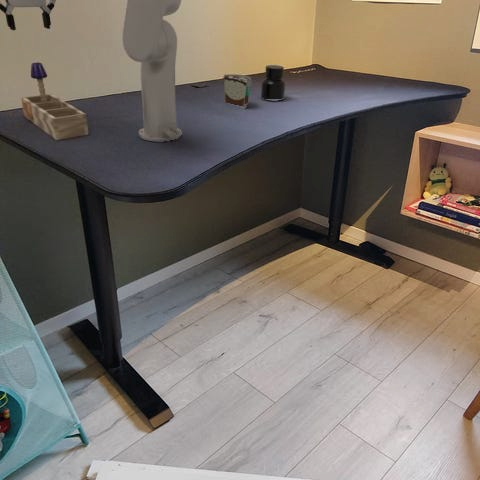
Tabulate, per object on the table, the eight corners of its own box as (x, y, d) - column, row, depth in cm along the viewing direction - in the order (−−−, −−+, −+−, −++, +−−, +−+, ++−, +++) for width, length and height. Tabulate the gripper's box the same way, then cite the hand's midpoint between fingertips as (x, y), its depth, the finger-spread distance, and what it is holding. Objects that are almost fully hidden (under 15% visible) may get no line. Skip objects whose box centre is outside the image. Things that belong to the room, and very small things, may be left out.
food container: (257, 106, 172) (259, 78, 167) (246, 109, 168) (248, 81, 163) (233, 99, 179) (234, 72, 174) (222, 102, 175) (222, 74, 170)
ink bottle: (288, 99, 183) (291, 67, 177) (276, 103, 177) (279, 70, 171) (268, 94, 188) (270, 63, 182) (255, 98, 182) (257, 66, 176)
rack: (88, 134, 137) (86, 114, 134) (54, 140, 132) (51, 119, 129) (54, 112, 154) (51, 93, 151) (23, 116, 149) (19, 97, 146)
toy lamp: (44, 121, 146) (35, 65, 137) (35, 118, 148) (25, 63, 139) (57, 117, 149) (49, 63, 141) (47, 115, 151) (38, 60, 143)
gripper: (-12, -41, 119) (2, 32, 128) (55, -39, 129) (64, 29, 138) (-20, -42, 124) (-6, 28, 133) (45, -40, 134) (55, 26, 143)
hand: (30, 28), depth 135 cm, fingers open, 9 cm apart
